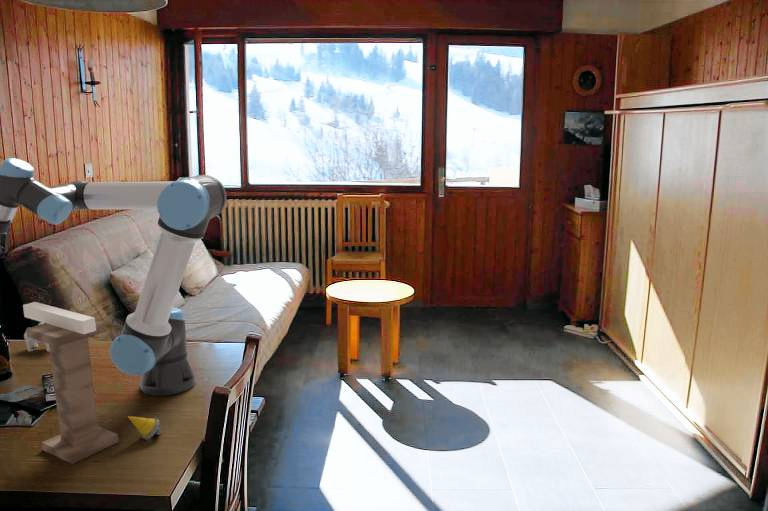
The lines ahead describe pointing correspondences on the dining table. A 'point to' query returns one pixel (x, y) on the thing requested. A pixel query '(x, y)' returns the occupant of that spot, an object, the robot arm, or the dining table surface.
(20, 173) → the robot arm
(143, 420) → the drill bit
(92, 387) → the pedestal
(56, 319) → the bar
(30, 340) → the dog figurine
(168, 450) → the dining table surface
